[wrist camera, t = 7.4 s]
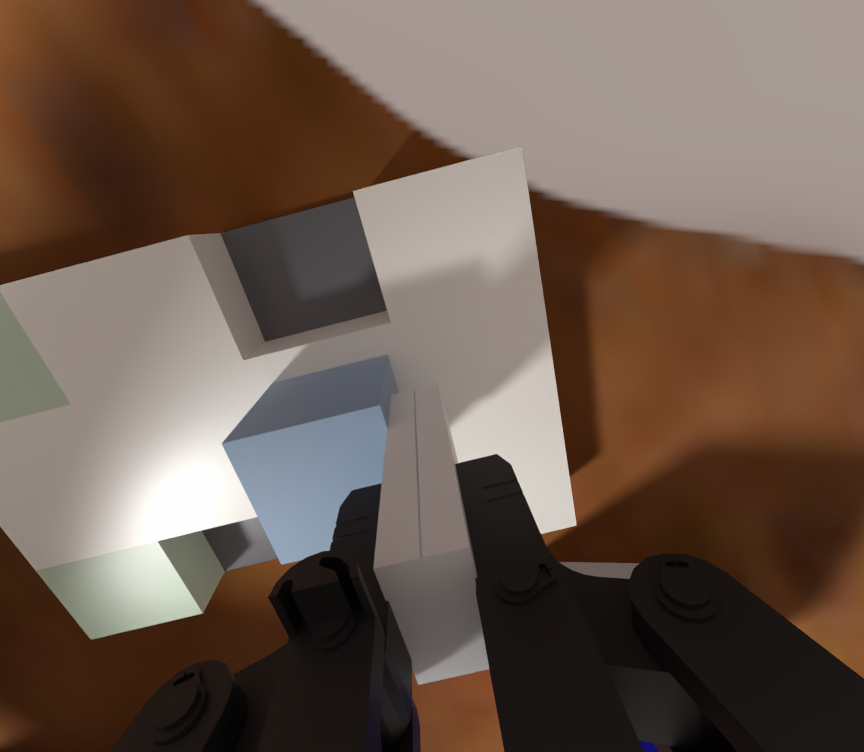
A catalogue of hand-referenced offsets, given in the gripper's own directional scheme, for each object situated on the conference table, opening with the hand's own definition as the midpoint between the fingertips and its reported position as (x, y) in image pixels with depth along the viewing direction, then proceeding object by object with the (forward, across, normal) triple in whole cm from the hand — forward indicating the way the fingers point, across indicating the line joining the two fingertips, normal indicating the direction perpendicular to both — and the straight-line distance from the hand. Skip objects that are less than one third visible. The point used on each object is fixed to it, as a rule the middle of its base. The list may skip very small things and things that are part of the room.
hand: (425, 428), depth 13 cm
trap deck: (+4, +6, 0) cm, 7 cm away
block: (+2, +3, 0) cm, 3 cm away
